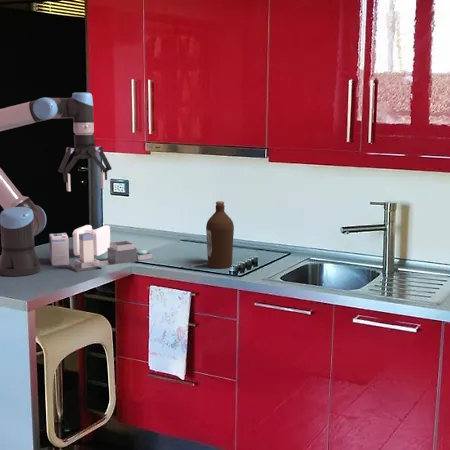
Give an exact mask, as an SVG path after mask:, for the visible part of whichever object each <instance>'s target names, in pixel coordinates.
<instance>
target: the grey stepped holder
mask: <svg viewBox="0 0 450 450" xmlns="http://www.w3.org/2000/svg"><path fill="white" fill-rule="evenodd" d="M137 250H138V248H136V247H135V243H133V242H130V241H128V240H122V241H121V240H120V241H113V242H111V241H110V248H107V260H98V259H96V258H95V257H94V261H92V262H85V263H82V262H80V258H77V259H74V264H71V265H70V264H69V268H70V269H72V270H74V271H75V272H76V273H77V272H85V271H86V272H87V271H92V270H100V269H102V267H105V266H111V265H119V264H120V265H121V264H128V263H134V262H143V261H149V260H151V261H152V260H154V258H153V253H151V252H149V251H147V254H144V255H137Z"/></svg>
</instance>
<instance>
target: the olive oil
mask: <svg viewBox="0 0 450 450" xmlns="http://www.w3.org/2000/svg"><path fill="white" fill-rule="evenodd" d="M205 230H206V231H205V233H206V248H207V249H206V250H207V252H206V254H207V266H208V267H209V268H211V269H221V270H222V269H228V268H231V267H232V266H233V251H234V235H235V234H234V231H235V225H234V222H233V220H232V218H231V217H230V216H229V215H228V214H227V213H226V211H225V201H222V200H221V201H220V200H219V201H216V202H215V212H214V213H213V214H212V215H211V216H210V217H209V218H208V220H207V222H206V225H205ZM231 265H232V266H231Z"/></svg>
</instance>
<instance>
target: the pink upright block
mask: <svg viewBox="0 0 450 450" xmlns="http://www.w3.org/2000/svg"><path fill="white" fill-rule="evenodd" d="M79 245H80V255H79V259H80V262H82V263H85V262H92V261H94V258H95V256H94V247H93V234H91V233H83V234H79Z"/></svg>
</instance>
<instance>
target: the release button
mask: <svg viewBox="0 0 450 450" xmlns="http://www.w3.org/2000/svg"><path fill="white" fill-rule="evenodd" d="M147 252H148V249H146V248H145V249H142V248H140V249H137V255H144V254H147Z"/></svg>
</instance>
